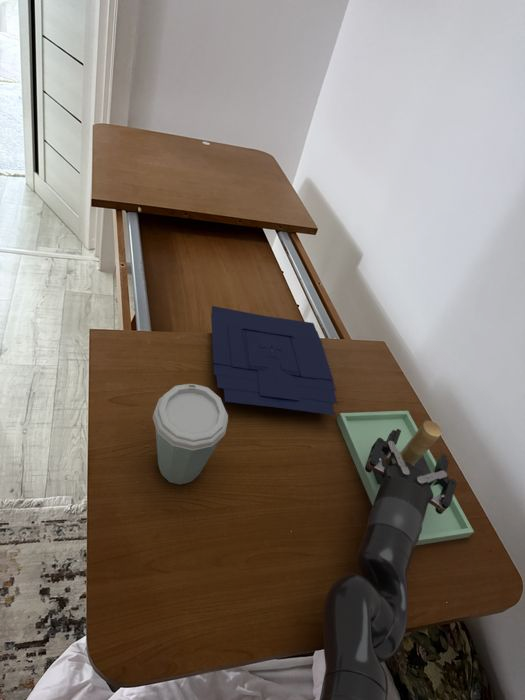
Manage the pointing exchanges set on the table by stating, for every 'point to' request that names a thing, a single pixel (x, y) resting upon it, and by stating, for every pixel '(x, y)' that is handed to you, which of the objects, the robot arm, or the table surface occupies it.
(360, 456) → the tray
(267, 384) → the folded navy cloth
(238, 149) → the table surface
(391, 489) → the robot arm
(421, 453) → the wooden handled stamp
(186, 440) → the disposable coffee cup
